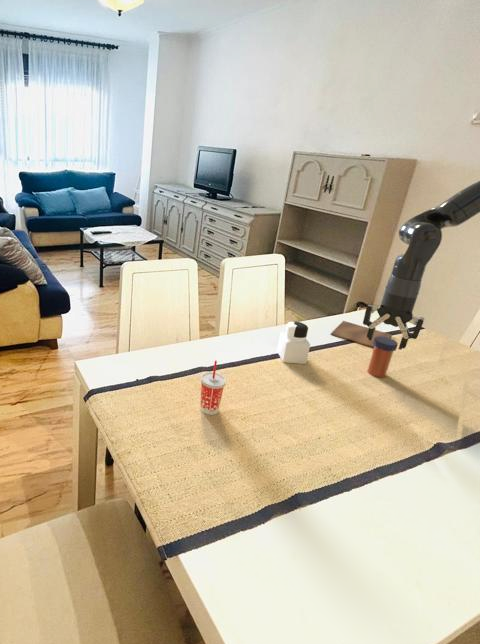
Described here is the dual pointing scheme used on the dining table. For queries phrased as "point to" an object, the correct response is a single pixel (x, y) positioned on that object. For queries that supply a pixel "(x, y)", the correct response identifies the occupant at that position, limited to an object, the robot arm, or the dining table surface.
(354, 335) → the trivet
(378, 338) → the lid
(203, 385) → the beverage cup
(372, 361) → the jar
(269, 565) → the dining table surface
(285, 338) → the medicine bottle
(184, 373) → the dining table surface
